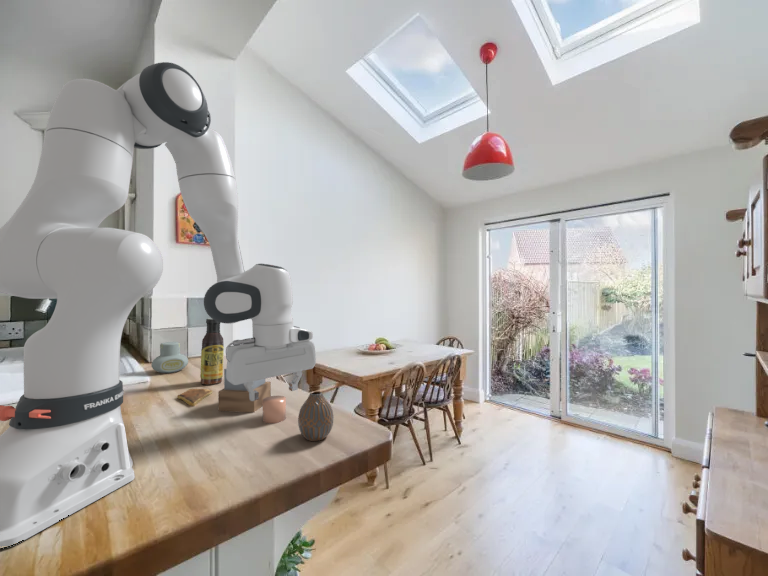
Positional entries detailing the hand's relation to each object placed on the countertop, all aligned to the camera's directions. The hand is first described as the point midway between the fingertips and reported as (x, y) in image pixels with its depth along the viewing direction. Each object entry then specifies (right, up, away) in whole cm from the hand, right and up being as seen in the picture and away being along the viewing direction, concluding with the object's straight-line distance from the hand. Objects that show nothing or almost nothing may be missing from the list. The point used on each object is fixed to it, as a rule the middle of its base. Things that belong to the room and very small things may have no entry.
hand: (274, 394), depth 79 cm
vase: (+12, -5, -11) cm, 17 cm away
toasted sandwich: (-24, -6, +13) cm, 28 cm away
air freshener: (-50, -5, +41) cm, 65 cm away
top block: (-10, 0, +8) cm, 12 cm away
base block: (-10, -5, +7) cm, 13 cm away
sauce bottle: (-28, -5, +27) cm, 39 cm away
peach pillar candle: (0, -5, -2) cm, 5 cm away
